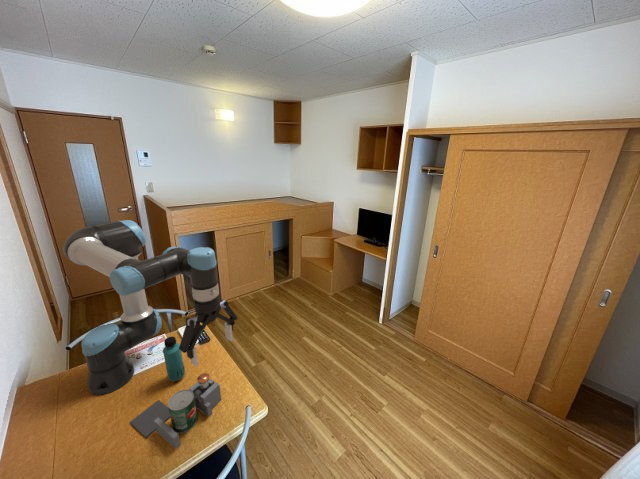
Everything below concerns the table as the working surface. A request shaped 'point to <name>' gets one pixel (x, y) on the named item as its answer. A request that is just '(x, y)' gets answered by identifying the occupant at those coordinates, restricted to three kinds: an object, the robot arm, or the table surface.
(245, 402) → the table surface
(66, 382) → the table surface
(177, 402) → the canned tomato
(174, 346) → the beverage bottle
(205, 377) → the plunger
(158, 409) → the mat
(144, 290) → the robot arm
